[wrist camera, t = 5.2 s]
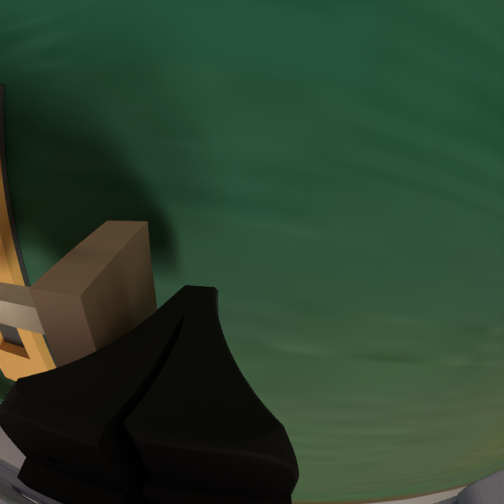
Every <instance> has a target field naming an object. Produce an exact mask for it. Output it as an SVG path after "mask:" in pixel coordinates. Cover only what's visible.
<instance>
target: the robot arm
mask: <svg viewBox="0 0 504 504" xmlns="http://www.w3.org/2000/svg"><path fill="white" fill-rule="evenodd" d="M0 426H1V428H2V429H3V431H4V432H5V433H6V434H7V436H8V437H9V438H10V439H11V440H12V442H13V443H14V444H15V445H16V446H17V448H18V449H19V450H20V451H21V452H22V453H23V454H24V455H25V456H26V459H25V461H24V463H23V465H22V467H21V469H19V468H16V467H15V466H13V465H11V464H9V463H7V462H6V461H4V460H2V459H0V504H36V503H34V502H33V501H31V500H29V499H28V498H30V499H32V500H34V501H36V502H38V503H37V504H292V502H291V494H292V492H293V490H294V488H295V486H296V484H297V481H298V478H299V469H298V464H297V460H296V456H295V453H294V450H293V448H292V445H291V442H290V440H289V438H288V435H287V433H286V431H285V428H284V426H283V425H282V424H281V423H280V422H279V421H278V420H277V419H276V418H275V416H274V415H273V414H272V413H271V412H270V411H269V410H268V409H267V408H266V406H265V405H264V404H263V403H262V401H261V400H260V399H259V398H258V396H257V395H256V394H255V393H254V391H253V390H252V388H251V387H250V385H249V384H248V382H247V381H246V379H245V378H244V376H243V375H242V373H241V371H240V370H239V368H238V366H237V364H236V362H235V360H234V358H233V356H232V354H231V352H230V350H229V348H228V345H227V343H226V340H225V337H224V335H223V332H222V329H221V325H220V321H219V317H218V290H217V289H216V288H215V287H204V286H189V285H185V286H184V287H183V288H181V289H180V290H179V291H178V292H177V293H176V294H175V295H174V296H172V297H171V298H170V299H169V300H168V301H167V302H166V303H165V304H164V305H162V306H161V307H160V308H159V309H158V310H157V311H155V312H154V313H153V314H152V315H151V316H149V317H148V318H147V319H146V320H144V321H143V322H142V323H140V324H139V325H138V326H136V327H135V328H134V329H132V330H131V331H130V332H128V333H127V334H125V335H124V336H122V337H120V338H119V339H117V340H115V341H114V342H112V343H111V344H109V345H107V346H105V347H103V348H101V349H99V350H97V351H95V352H93V353H91V354H89V355H87V356H85V357H83V358H81V359H78V360H76V361H73V362H71V363H69V364H66V365H63V366H60V367H58V368H55V369H51V370H48V371H45V372H41V373H37V374H33V375H30V376H26V377H21V378H18V379H17V381H16V382H15V384H14V385H13V387H12V388H11V390H10V391H9V393H8V394H7V396H6V397H5V399H4V400H3V402H2V403H1V405H0ZM22 494H23V495H25V496H26V497H28V498H26V497H24V496H23V495H22ZM434 504H504V470H503V469H501V470H499V471H497V472H495V473H493V474H491V475H488V476H486V477H484V478H481V479H479V480H477V481H475V482H473V483H472V484H470V485H468V486H467V487H466V488H464V489H463V490H462V491H461V492H459V493H458V495H457V496H455V497H452V498H449V499H446V500H443V501H440V502H438V503H434Z"/></svg>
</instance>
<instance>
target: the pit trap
mask: <svg viewBox="0 0 504 504" xmlns="http://www.w3.org/2000/svg"><path fill="white" fill-rule="evenodd" d="M0 282H2V283H8V284H14V285H20V286H26V287H30V283H29V280H28V277H27V273H26V269H25V266H24V262H23V258H22V254H21V250H20V245H19V241H18V236H17V232H16V227H15V221H14V216H13V210H12V204H11V198H10V191H9V184H8V175H7V166H6V154H5V138H4V85H0ZM0 368H1V370H2V372H3V373H4V375H5V377H7V378H9V379H12V380H14V381H17V379H18V378H21V377H26V376H30V375H33V374H37V373H41V372H45V371H48V370H51V369H55V368H58V364H57V362H56V360H55V358H54V355H53V353H52V350H51V348H50V346H49V343H48V341H47V338H46V336H45V335H44V334H40V333H35V332H31V331H27V330H24V329H20V328H16V327H12V326H9V325H5V324H2V323H0Z"/></svg>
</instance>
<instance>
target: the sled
mask: <svg viewBox="0 0 504 504" xmlns="http://www.w3.org/2000/svg"><path fill="white" fill-rule="evenodd" d="M155 311H157V303H156V296H155V288H154V280H153V272H152V263H151V253H150V243H149V232H148V221H106V222H105V223H104V224H102V225H101V226H100V227H99V228H97V229H96V230H95V231H94V232H93V233H91V234H90V235H89V236H88V237H86V238H85V239H84V240H83V241H82V242H80V243H79V244H78V245H77V246H76V247H75V248H73V249H72V250H71V251H70V252H69V253H67V254H66V255H65V256H64V257H63V258H62V259H61V260H59V261H58V262H57V263H56V264H55V265H54V266H53V267H52V268H50V269H49V270H48V271H47V272H46V273H45V274H44V275H43V276H42V277H41V278H40V279H38V280H37V281H36V282H35V283H34V284H33V285H32V286H31V287H26V286H20V285H14V284H8V283H2V282H0V323H2V324H5V325H9V326H12V327H16V328H20V329H24V330H27V331H31V332H35V333H40V334H44V335H45V336H46V338H47V341H48V343H49V346H50V348H51V350H52V353H53V355H54V358H55V360H56V362H57V364H58V367H60V366H63V365H66V364H69V363H71V362H73V361H76V360H78V359H81V358H83V357H85V356H87V355H89V354H91V353H93V352H95V351H97V350H99V349H101V348H103V347H105V346H107V345H109V344H111V343H112V342H114V341H115V340H117V339H119V338H120V337H122V336H124V335H125V334H127V333H128V332H130V331H131V330H132V329H134V328H135V327H136V326H138V325H139V324H140V323H142V322H143V321H144V320H146V319H147V318H148V317H149V316H151V315H152V314H153V313H154V312H155Z"/></svg>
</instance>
